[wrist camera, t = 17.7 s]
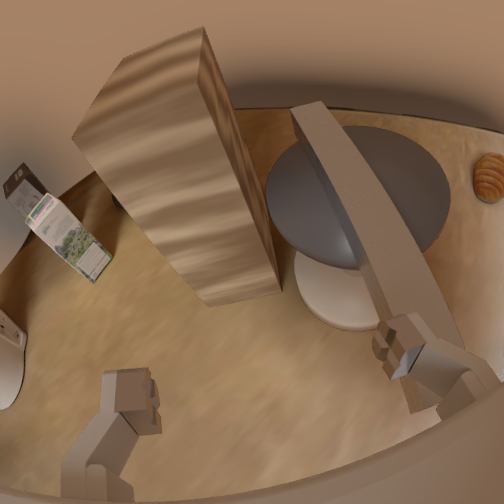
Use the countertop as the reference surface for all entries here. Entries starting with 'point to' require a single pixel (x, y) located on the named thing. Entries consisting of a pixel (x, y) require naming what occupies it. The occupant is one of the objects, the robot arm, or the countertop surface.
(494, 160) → the pastry
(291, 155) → the dial scale
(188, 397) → the countertop surface
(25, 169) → the coffee box
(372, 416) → the countertop surface
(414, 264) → the wooden bar
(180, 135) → the wooden stand
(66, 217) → the syrup box
